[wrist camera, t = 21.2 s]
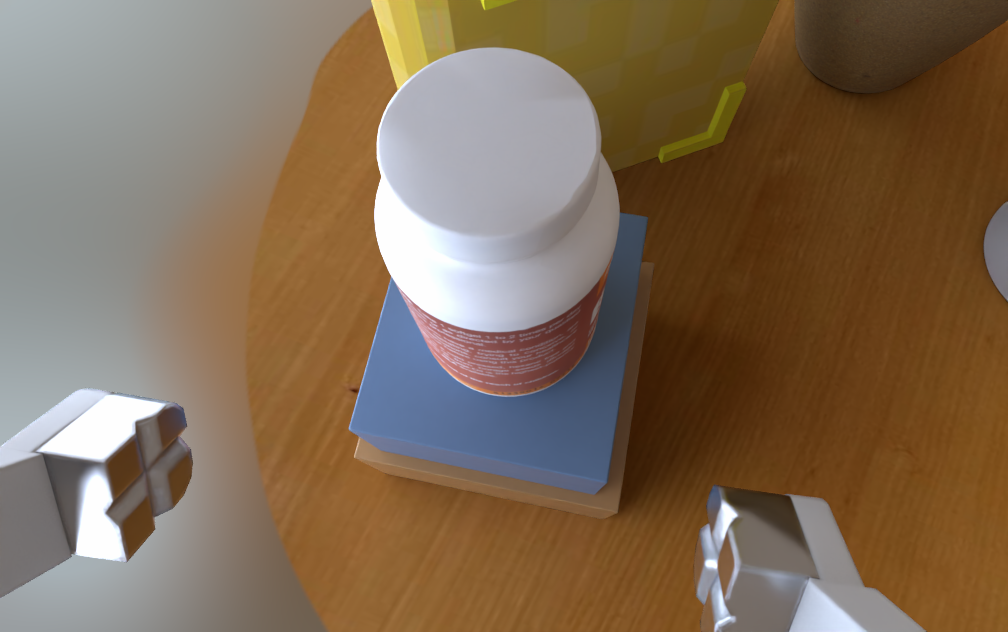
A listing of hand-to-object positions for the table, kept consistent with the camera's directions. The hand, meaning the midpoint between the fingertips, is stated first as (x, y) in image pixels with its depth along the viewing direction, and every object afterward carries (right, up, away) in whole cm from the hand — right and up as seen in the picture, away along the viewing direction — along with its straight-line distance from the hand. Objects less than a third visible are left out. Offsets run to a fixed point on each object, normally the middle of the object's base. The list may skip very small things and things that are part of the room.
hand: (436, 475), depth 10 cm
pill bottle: (+1, +2, +14) cm, 14 cm away
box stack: (+2, -1, +24) cm, 24 cm away
